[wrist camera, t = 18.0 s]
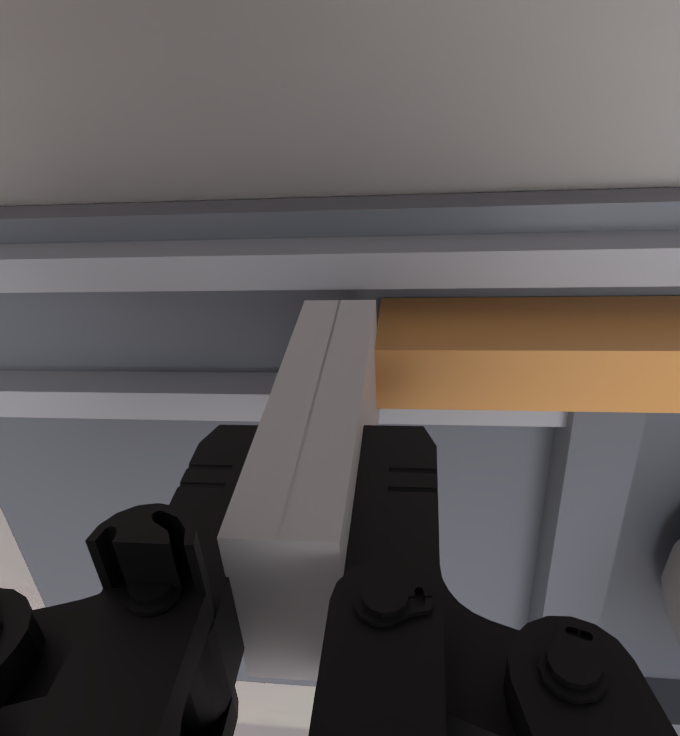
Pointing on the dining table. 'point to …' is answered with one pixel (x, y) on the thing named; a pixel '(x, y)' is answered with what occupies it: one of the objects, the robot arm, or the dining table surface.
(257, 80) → the dining table surface
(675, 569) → the can
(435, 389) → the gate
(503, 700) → the robot arm
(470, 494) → the housing
